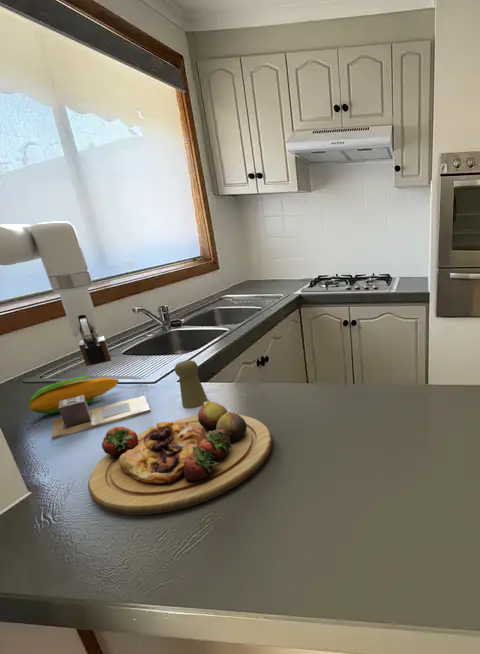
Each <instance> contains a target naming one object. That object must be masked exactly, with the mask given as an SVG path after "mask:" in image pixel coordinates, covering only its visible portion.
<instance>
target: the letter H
mask: <svg viewBox="0 0 480 654" xmlns="http://www.w3.org/2000/svg"><path fill="white" fill-rule="evenodd" d="M58 409H59V411H60V412H59V414H60V417H62V419H63V421H64V424H65V426H66V427H69V426H73V425H77V424H80V423H84V422H88V421H91V413H90V410H91V409H90V407H89V403H88V404H87V402H86V399H85V396H84V395H82V396H78V397H74V398H69V399H65V400H61V401H59V407H58Z"/></svg>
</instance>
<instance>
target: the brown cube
mask: <svg viewBox="0 0 480 654" xmlns="http://www.w3.org/2000/svg"><path fill="white" fill-rule="evenodd" d="M97 338H98V341H99V344H100V345H101V346H102V349H103V352H104V355H105V358H106V362H103V363H102V364H104V363H108V362H109V363H110V362H111V361H112V357H111V353H110V350H109V348H108V344H107V342H106V338H105V336H104V335H103V336H98V337H97ZM95 342H96V341H95ZM78 347H79V350H80V353H81V356H82V358H83V361H84V364H85V367H90V366H92V365H91V364H90V362H89V360H88V357H87V354H86V351H85V345H84V342H83V339H81V340H79V341H78ZM99 364H101V363H99ZM99 364H98V365H99ZM95 365H96V364H94V365H93V366H95Z"/></svg>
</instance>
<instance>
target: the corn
mask: <svg viewBox="0 0 480 654" xmlns="http://www.w3.org/2000/svg"><path fill="white" fill-rule="evenodd" d="M92 376H93V375H92V374H91V375H83V376H76V377H73V378H69V379H64V380H61V381H58V382H55V383H52V384H49V385H45V386H43V387H41V388H40V389H38V390H36V391H35V392H34V393H33V394H32V395H31V396H30V397H29V400H28V403H27V405H28V408H29V409H30V410H31V411H32V412H35V413H37V414H43V415H51V414H60V411H59V409H58V407H59V401H61V400H65V399H69V398H74V397H78V396H82V395H84V396H85V399H86V402H87V404H88V405H89V404H90V403H92V402H94V401H96V400H97V399H96V398H98V397H100V396H102V395H104V394H106V393H107V392H109V391H110V390H112V389H114V388H115V387H116V386H117V385H118V384H119V379H117V378H113V377H108V376H105V377H104V376H103V377H98V378H91V377H92ZM89 378H90V379H89Z"/></svg>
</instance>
